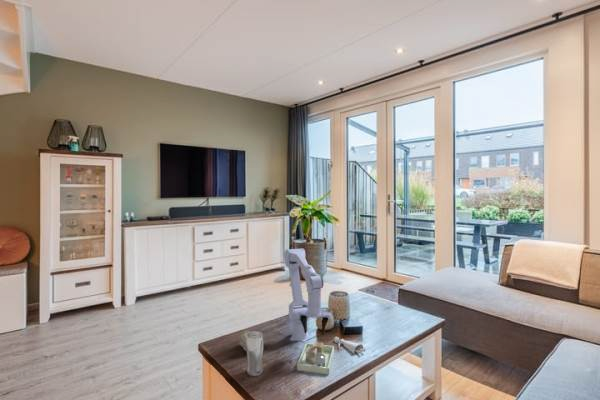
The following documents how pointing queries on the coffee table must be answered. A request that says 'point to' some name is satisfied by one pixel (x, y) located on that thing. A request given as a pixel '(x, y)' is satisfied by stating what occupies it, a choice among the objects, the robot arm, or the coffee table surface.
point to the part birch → (311, 355)
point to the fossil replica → (244, 338)
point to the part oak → (318, 347)
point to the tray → (304, 366)
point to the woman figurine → (350, 345)
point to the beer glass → (254, 352)
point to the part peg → (320, 360)
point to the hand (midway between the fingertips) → (314, 333)
